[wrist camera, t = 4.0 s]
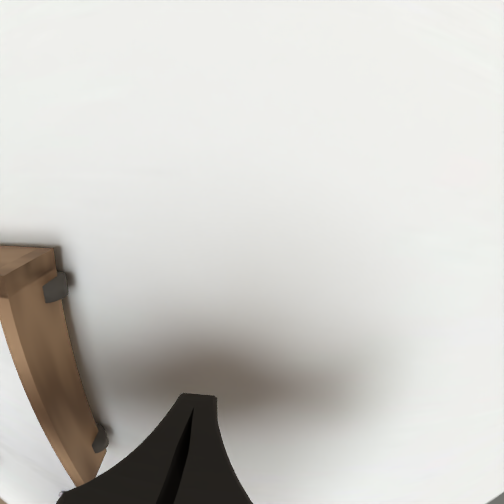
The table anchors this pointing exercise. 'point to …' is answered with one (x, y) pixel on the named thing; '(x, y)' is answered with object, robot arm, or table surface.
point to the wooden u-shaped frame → (48, 357)
